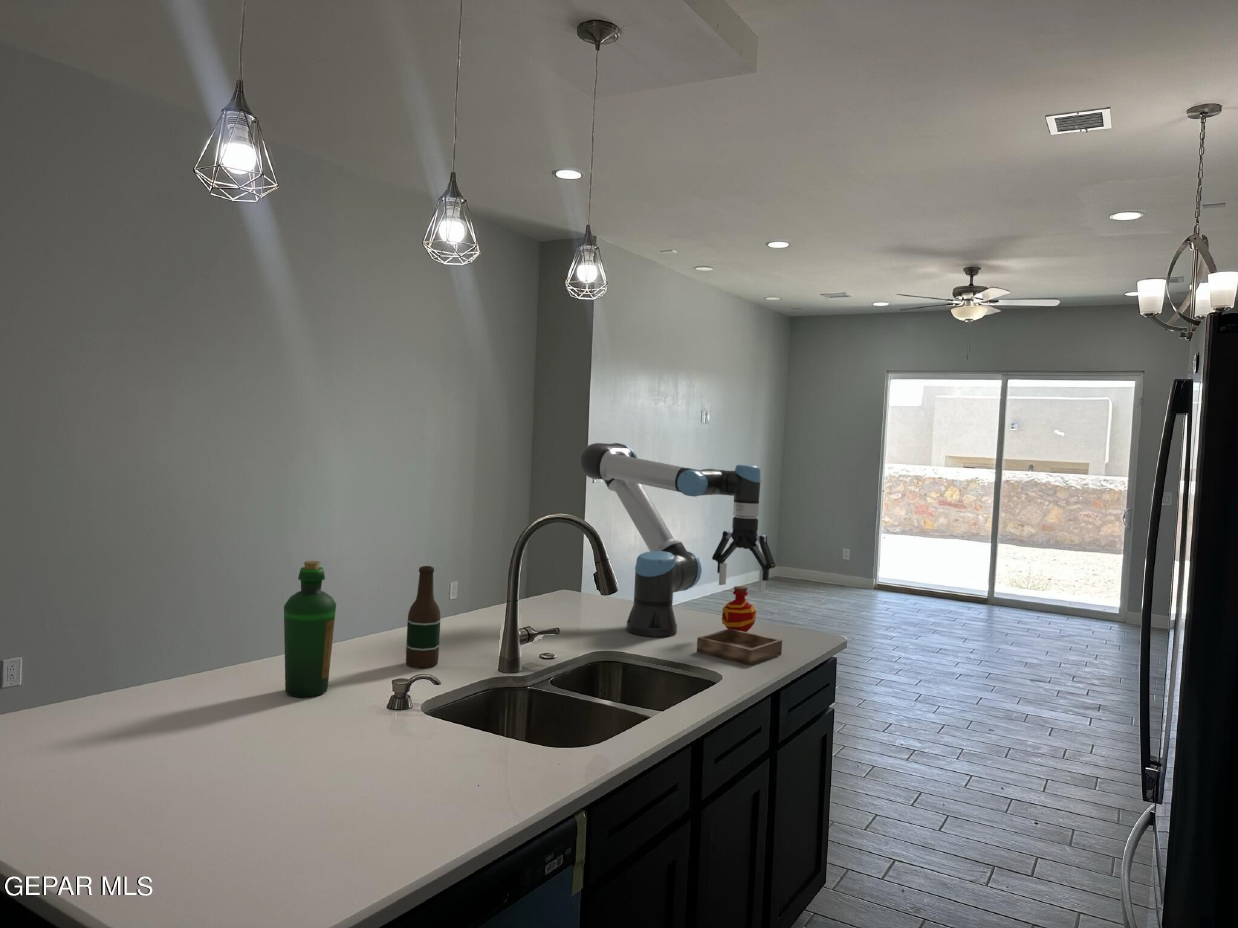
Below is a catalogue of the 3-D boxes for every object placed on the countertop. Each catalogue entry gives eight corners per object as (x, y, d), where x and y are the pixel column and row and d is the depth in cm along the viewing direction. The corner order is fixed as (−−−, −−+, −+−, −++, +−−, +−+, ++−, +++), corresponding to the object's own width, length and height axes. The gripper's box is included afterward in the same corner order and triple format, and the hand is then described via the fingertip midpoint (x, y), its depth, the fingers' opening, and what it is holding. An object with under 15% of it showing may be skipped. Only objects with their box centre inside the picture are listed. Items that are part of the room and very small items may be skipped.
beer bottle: (421, 658, 214) (426, 562, 213) (444, 664, 210) (449, 567, 209) (398, 664, 208) (403, 566, 207) (422, 670, 204) (427, 570, 203)
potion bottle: (757, 642, 251) (760, 591, 250) (722, 640, 251) (725, 589, 251) (752, 634, 261) (755, 585, 261) (718, 631, 262) (721, 583, 261)
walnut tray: (696, 651, 236) (697, 637, 236) (728, 642, 249) (729, 628, 249) (750, 665, 226) (751, 650, 225) (781, 654, 239) (782, 640, 239)
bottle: (343, 691, 185) (349, 562, 184) (302, 703, 176) (308, 568, 175) (310, 681, 191) (315, 556, 190) (268, 692, 182) (274, 561, 180)
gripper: (703, 513, 260) (699, 583, 260) (777, 521, 244) (773, 595, 245) (716, 512, 265) (712, 580, 266) (789, 520, 250) (785, 592, 251)
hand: (741, 588), depth 255 cm, fingers open, 13 cm apart
